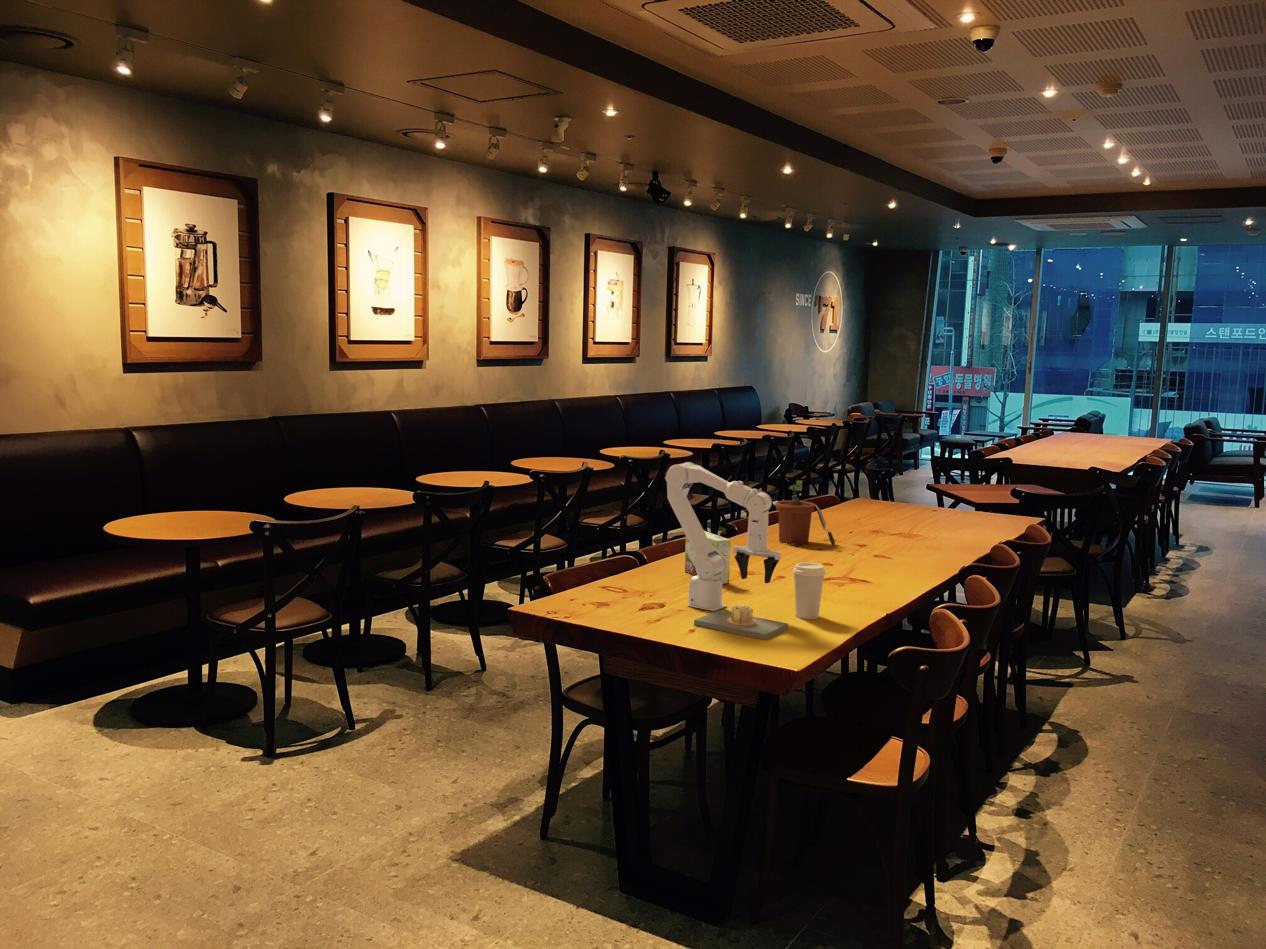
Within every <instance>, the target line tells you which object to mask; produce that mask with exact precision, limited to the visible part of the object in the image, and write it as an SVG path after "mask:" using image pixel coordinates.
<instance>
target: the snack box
mask: <svg viewBox="0 0 1266 949" xmlns="http://www.w3.org/2000/svg"><path fill="white" fill-rule="evenodd" d="M704 532H705V534H706V536H707V538H708V540H709V542H710V544H712V545H713V546H714V547H716V549H717V551H718V552H719V553H720V554H721V555H722V556H723V557H724V558H725V560H726V568H725V570H724V571H723V572H722V576H723V582H722V585H729V584H730V564H731V563H730V562H731V560H730V559H731V539H729V538H727V537H723V536H721V535H717V534H714V533H712V532H709V531H706V530H704ZM684 537H685V539H684V540H685V546H684V547H685V552H684V554H685V555H684V557H685V558H684V572H685V573H687V572H688V574H690V575H692V576H694V575H698V574H697V572H696V568H695V562H694V560H693V555H694V550H693V548H692V546H691V544H690V542H689V540H688V538H687V536H686V535H685V536H684Z"/></svg>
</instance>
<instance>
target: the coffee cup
mask: <svg viewBox="0 0 1266 949" xmlns="http://www.w3.org/2000/svg"><path fill="white" fill-rule="evenodd" d="M791 572H792V573H793V579H794V605H795V606H794V609H795V611H794V612H795V617H797V618H798V619H803V620H815V619H818V618H819V614H820V607H821V600H822V592H823V587H824V586H823V585H824V579H825V576H826V575H827V573H826V570H825V568H824V565H822V564H819V563H813V562H798V563H796V564H795V565H794V568H793V569H792V571H791Z"/></svg>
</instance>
